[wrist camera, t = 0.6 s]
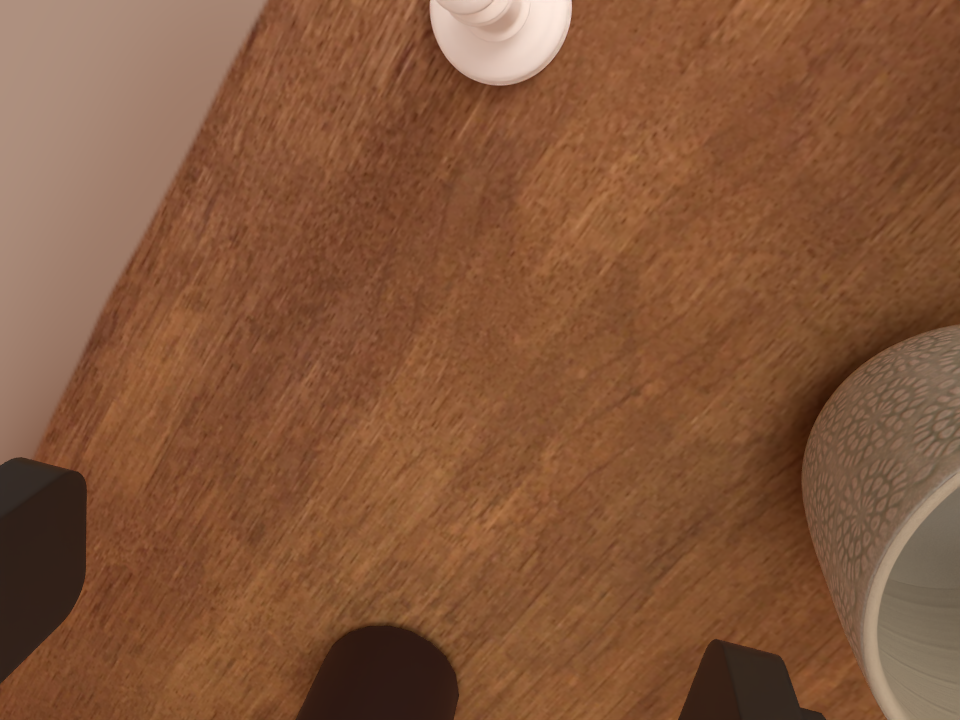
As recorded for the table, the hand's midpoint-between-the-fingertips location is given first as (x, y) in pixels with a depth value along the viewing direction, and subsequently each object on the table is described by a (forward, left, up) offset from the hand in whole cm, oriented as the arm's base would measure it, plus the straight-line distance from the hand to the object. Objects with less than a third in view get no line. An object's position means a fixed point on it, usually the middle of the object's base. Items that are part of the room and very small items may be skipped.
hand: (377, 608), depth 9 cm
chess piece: (-9, -2, -21) cm, 23 cm away
